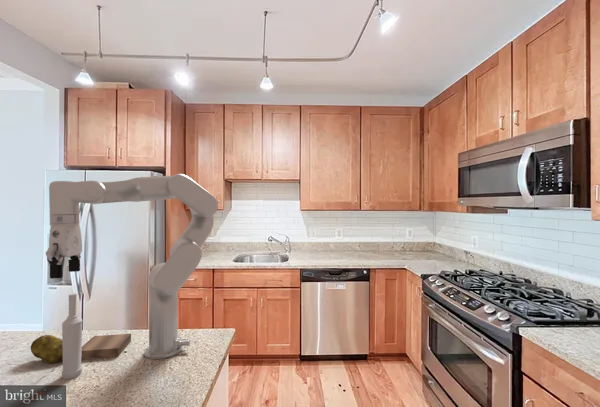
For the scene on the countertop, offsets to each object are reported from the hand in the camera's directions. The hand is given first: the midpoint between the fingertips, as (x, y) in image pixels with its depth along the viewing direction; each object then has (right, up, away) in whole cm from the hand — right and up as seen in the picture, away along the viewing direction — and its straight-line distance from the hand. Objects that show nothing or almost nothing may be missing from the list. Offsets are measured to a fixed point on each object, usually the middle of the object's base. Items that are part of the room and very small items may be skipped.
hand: (65, 274), depth 100 cm
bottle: (+3, -31, -2) cm, 31 cm away
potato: (-11, -31, +8) cm, 34 cm away
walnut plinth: (+3, -31, +16) cm, 35 cm away
